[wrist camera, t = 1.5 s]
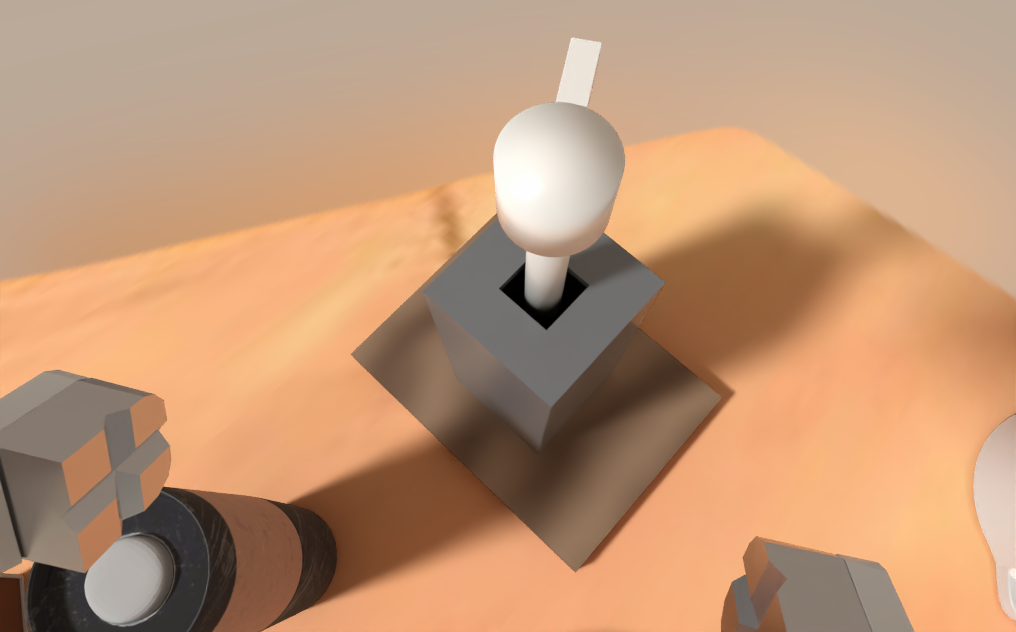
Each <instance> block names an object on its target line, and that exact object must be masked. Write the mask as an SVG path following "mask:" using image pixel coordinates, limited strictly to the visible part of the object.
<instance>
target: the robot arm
mask: <svg viewBox="0 0 1016 632" xmlns="http://www.w3.org/2000/svg"><path fill="white" fill-rule="evenodd" d="M166 421H167V416H166V410H165V404H164V400H163V399H161V398H160V397H158V396H156V395H155V394H152V393H148V392H144V391H140V390H136V389H133V388H129V387H125V386H121V385H117V384H113V383H110V382H106V381H102V380H98V379H94V378H87V377H84V376H80V375H76V374H72V373H69V372H65V371H61V370H53V371H45V372H43V373H41V374H40V375H38V376H36V377H35V378H33V379H32V380H30V381H28V382H27V383H25V384H24V385H22V386H20V387H19V388H17V389H16V390H14V391H12V392H11V393H9V394H7V395H6V396H4V397H3V398H1V399H0V574H1V573H3V572H5V571H6V570H8V569H10V568H12V567H14V566H16V565H18V564H20V563H22V559H26V560H30V561H34V562H39V563H43V564H47V565H52V566H56V567H60V568H65V569H69V570H73V571H78V572H82V573H86V572H87V570H88V569H89V568H90V567H91V566H92V565H93V564H94V563H95V562H96V561H97V560H98V559H99V558H100V557H101V556H102V555H103V554H104V553H105V552H106V551H107V550H108V549H109V548H110V547H111V546H112V544H113V543H114V542H115V541H116V540H117V539H118V538H119V537H120V536H121V535H122V520H124V519H127V518H129V517H131V516H134V515H136V514H138V513H141V512H143V511H145V510H146V509H147V508H148V507H149V505H150V504H151V503H152V502H153V501H154V500H155V499H156V498H157V497H158V496H159V494H160V492H161V490H162V488H163V486H164V484H165V482H166V480H167V478H168V476H169V470H170V464H171V452H170V445H169V444H168V442H167V441H166V440H165V438H164V437H163V436H162V434H161V433H160V432H159V429H160V428H161V426H162V425H163V424H164V423H165V422H166ZM974 501H975V507H976V511H977V515H978V519H979V522H980V525H981V528H982V531H983V533H984V535H985V538H986V540H987V542H988V544H989V547H990V549H991V551H992V554H993V556H994V559H995V563H996V574H997V588H998V596H999V601H1000V604H1001V606H1002V608H1003V610H1004V612H1005V613H1006V614H1007V615H1008V616H1009V617H1010V618H1011V619H1013V620H1014V621H1016V414H1015V415H1013V416H1011V417H1010V418H1008V419H1006V420H1005V421H1004V422H1002V423H1001V424H1000V425H999V426H998V427H996V428H995V430H994V431H993V432H992V433H991V434H990V435H989V437H988V438H987V440H986V441H985V443H984V445H983V447H982V449H981V451H980V453H979V456H978V459H977V462H976V467H975V473H974ZM743 562H744V567H745V572H746V575H744V576H742V577H740V578H738V579H736V580H734V581H733V582H732V583H731V586H730V588H729V591H728V593H727V596H726V598H725V601H724V607H723V613H722V619H721V632H914V630H913V627H912V625H911V623H910V621H909V619H908V617H907V614H906V612H905V610H904V608H903V606H902V603H901V601H900V599H899V597H898V595H897V593H896V590H895V588H894V586H893V584H892V582H891V579H890V577H889V575H888V573H887V571H886V570H885V569H884V568H883V567H882V566H881V565H880V564H879V563H877V562H872V561H868V560H863V559H858V558H854V557H849V556H844V555H840V554H836V555H834V554H832V553H827V552H823V551H819V550H814V549H810V548H806V547H801V546H797V545H792V544H788V543H784V542H779V541H775V540H771V539H766V538H762V537H758V536H756V537H755V538H754V539H753V540H752V541H751V542H750V543H749V545H748V547H747V549H746V552H745V554H744V556H743Z"/></svg>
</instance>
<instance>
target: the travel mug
mask: <svg viewBox="0 0 1016 632" xmlns="http://www.w3.org/2000/svg"><path fill="white" fill-rule="evenodd" d="M336 560H337V551H336V544H335V540H334V537H333V535H332V532H331V530H330V529H329V527H328V525H327V524H326V523H325V522H324V521H323V520H322V519H321V518H320V517H319V516H318V515H316V514H315V513H313V512H311V511H309V510H307V509H304V508H301V507H298V506H293V505H289V504H285V503H280V502H276V501H271V500H267V499H262V498H257V497H252V496H244V495H234V494H225V493H216V492H207V491H198V490H189V489H179V488H170V487H163V488H162V490H161V492H160V494H159V496H158V497H157V498H156V499H155V500H154V501H153V502H152V503H151V504H150V505H149V507H148V508H147V509H146V510H145V511H143V512H141V513H138V514H136V515H134V516H131V517H129V518H127V519H124V520H122V535H121V536H120V537H119V538H118V539H117V540H116V541H115V542H114V543H113V544H112V546H111V547H110V548H109V549H108V550H107V551H106V552H105V553H104V554H103V555H102V556H101V557H100V558H99V559H98V560H97V561H96V562H95V563H94V564H93V565H92V566H91V567H90V568H89V569H88V570H87V572H86V573H82V572H78V571H73V570H69V569H65V568H60V567H56V566H52V565H47V564H43V563H39V562H34V564H33V566H32V569H31V573H30V576H29V580H28V586H27V594H26V611H27V619H28V624H29V627H30V631H31V632H261V631H263V630H265V629H267V628H269V627H271V626H273V625H275V624H277V623H279V622H281V621H283V620H285V619H287V618H289V617H292V616H294V615H296V614H297V613H299V612H301V611H303V610H305V609H307V608H308V607H309V606H311V605H312V604H314V603H315V602H316V601H317V600H318V599H319V598H320V597H321V596H322V594H323V593H324V592H325V590H326V589H327V587H328V586H329V584H330V582H331V580H332V577H333V574H334V571H335V567H336Z"/></svg>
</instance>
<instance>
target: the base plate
mask: <svg viewBox="0 0 1016 632" xmlns="http://www.w3.org/2000/svg"><path fill="white" fill-rule="evenodd" d="M497 219H498V216H497V214H496V215H494V216H493V217H492V218H491V219H490V220H489V221H488V222H487V223H486V224H485V225H484V226H483V227H482V228H481V229H480V230H479V231H478V232H477V233H476V234H475V235H474V236H473V237H472V238H471V239H470V240H469V241H468V242H467V243H465V244H464V245H463V246H462V247H461V248H460V249H459V250H458V251H457V252H456V253H455V254H454V255H453V256H452V257H451V258H450V259H449V260H448V261H447V262H446V263H445V264H444V265H443V266H442V267H441V268H440V269H439V270H437V271H436V272H435V273H434V274H433V275H432V276H431V277H430V278H429V279H428V280H427V281H426V282H425V283H424V284H423V285H422V286H421V287H420V288H419V289H418V290H417V291H416V292H415V293H414V294H413V295H412V296H411V297H410V298H408V299H407V300H406V301H405V302H404V303H403V304H402V305H401V306H400V307H399V308H398V309H397V310H396V311H395V312H394V313H393V314H392V315H391V316H390V317H389V318H388V319H387V320H386V321H385V322H384V323H383V324H382V325H381V326H379V327H378V328H377V329H376V330H375V331H374V332H373V333H372V334H371V335H370V336H369V337H368V338H367V339H366V340H365V341H364V342H363V343H362V344H361V345H360V346H359V347H358V348H357V349H356V350H355V351H354V352H353V353H351V355H352V356H353V357H354V358H355V359H356V360H357V361H358V362H359V363H360V364H361V365H362V366H363V367H364V368H365V369H366V370H367V371H368V372H369V373H370V374H371V375H372V376H373V377H374V378H375V379H376V380H377V381H378V382H379V383H380V384H381V385H382V386H383V387H384V388H385V389H387V390H388V391H389V392H390V393H391V394H392V395H393V396H394V397H395V398H396V399H397V400H398V401H399V402H400V403H401V404H402V405H403V406H404V407H405V408H406V409H407V410H408V411H409V412H410V413H411V414H412V415H413V416H414V417H415V418H416V419H417V420H418V421H420V422H421V423H422V424H423V425H424V426H425V427H426V428H427V429H428V430H429V431H430V432H431V433H432V434H433V435H434V436H435V437H436V438H437V439H438V440H439V441H440V442H441V443H442V444H443V445H444V446H445V447H446V448H447V449H448V450H449V451H450V452H451V453H453V454H454V455H455V456H456V457H457V458H458V459H459V460H460V461H461V462H462V463H463V464H464V465H465V466H466V467H467V468H468V469H469V470H470V471H471V472H472V473H473V474H474V475H475V476H476V477H477V478H478V479H479V480H480V481H481V482H482V483H483V484H484V485H486V486H487V487H488V488H489V489H490V490H491V491H492V492H493V493H494V494H495V495H496V496H497V497H498V498H499V499H500V500H501V501H502V502H503V503H504V504H505V505H506V506H507V507H508V508H509V509H510V510H511V511H512V512H513V513H514V514H515V515H516V516H517V517H519V518H520V519H521V520H522V521H523V522H524V523H525V524H526V525H527V526H528V527H529V528H530V529H531V530H532V531H533V532H534V533H535V534H536V535H537V536H538V537H539V538H540V539H541V540H542V541H543V542H544V543H545V544H546V545H547V546H548V547H549V548H550V549H552V550H553V551H554V552H555V553H556V554H557V555H558V556H559V557H560V558H561V559H562V560H563V561H564V562H565V563H566V564H567V565H568V566H569V567H570V568H571V569H572V570H573V571H574V572H576V571H577V570H578V569H579V568H580V566H581V565H582V564H583V563H584V562H585V560H586V559H587V558H588V557H589V556H590V555H591V553H592V552H593V551H594V550H595V549H596V547H597V546H598V545H599V544H600V543H601V541H602V540H603V539H604V538H605V537H606V535H607V534H608V533H609V532H610V531H611V529H612V528H613V527H614V526H615V525H616V523H617V522H618V521H619V520H620V519H621V518H622V516H623V515H624V514H625V513H626V512H627V510H628V509H629V508H630V507H631V506H632V504H633V503H634V502H635V501H636V500H637V498H638V497H639V496H640V495H641V494H642V492H643V491H644V490H645V489H646V488H647V486H648V485H649V484H650V483H651V482H652V481H653V479H654V478H655V477H656V476H657V475H658V473H659V472H660V471H661V470H662V469H663V467H664V466H665V465H666V464H667V463H668V461H669V460H670V459H671V458H672V457H673V455H674V454H675V453H676V452H677V451H678V450H679V448H680V447H681V446H682V445H683V444H684V442H685V441H686V440H687V439H688V438H689V436H690V435H691V434H692V433H693V432H694V430H695V429H696V428H697V427H698V426H699V424H700V423H701V422H702V421H703V420H704V418H705V417H706V416H707V415H708V414H709V413H710V411H711V410H712V409H713V408H714V407H715V405H716V404H717V403H718V402H719V401H720V399H721V398H722V397H721V396H720V395H719V394H718V393H716V392H715V391H714V390H713V389H712V388H710V387H709V386H708V385H707V384H706V383H704V382H703V381H702V380H701V379H700V378H698V377H697V376H696V375H695V374H694V373H692V372H691V371H690V370H689V369H688V368H686V367H685V366H684V365H683V364H682V363H680V362H679V361H678V360H677V359H676V358H674V357H673V356H672V355H671V354H670V353H668V352H667V351H666V350H665V349H664V348H662V347H661V346H660V345H659V344H658V343H656V342H655V341H654V340H653V339H652V338H650V337H649V336H648V335H647V334H646V333H644V332H643V331H642V330H641V329H640V328H638V329H637V331H636V333H635V334H634V336H633V338H632V339H631V341H630V343H629V344H628V346H627V348H626V349H625V351H624V353H623V354H622V356H621V358H620V359H619V361H618V363H617V364H616V366H615V368H614V369H613V371H612V373H611V374H610V375H609V376H608V377H607V378H606V379H605V380H604V381H603V383H602V384H601V385H600V386H599V387H598V388H597V389H596V390H595V391H594V393H593V394H592V395H591V396H590V397H589V398H588V399H587V400H586V401H585V402H584V404H583V405H582V406H581V407H580V408H579V409H578V410H577V411H576V412H575V414H574V415H573V416H572V417H571V418H570V419H569V420H568V421H567V422H566V424H565V425H564V426H563V427H562V428H561V429H560V430H559V431H558V432H557V434H556V435H555V436H554V437H553V438H552V439H551V440H550V441H549V442H548V444H547V445H546V446H545V447H544V448H543V449H542V450H541V451H540V452H539V454H537V453H536V452H535V451H534V450H533V449H531V448H530V447H529V446H528V445H527V444H526V443H525V442H524V441H523V440H522V439H521V438H520V437H519V436H518V435H516V434H515V433H514V432H513V431H512V430H511V429H510V428H509V427H508V426H507V425H506V424H505V423H504V422H502V421H501V420H500V419H499V418H498V417H497V416H496V415H495V414H494V413H493V412H492V411H491V410H490V409H489V408H487V407H486V406H485V405H484V404H483V403H482V402H481V401H480V400H479V399H478V398H477V397H476V396H475V395H474V394H472V393H471V392H470V391H469V390H468V389H467V388H466V387H465V386H464V385H463V384H462V383H461V382H460V381H458V380H457V379H456V376H455V374H454V371H453V369H452V366H451V364H450V361H449V358H448V356H447V353H446V351H445V348H444V345H443V343H442V340H441V338H440V335H439V333H438V330H437V327H436V325H435V322H434V320H433V317H432V314H431V312H430V309H429V307H428V304H427V302H426V299H425V296H424V294H423V291H424V290H425V289H426V288H427V287H428V286H429V285H430V284H431V283H432V282H433V281H434V280H435V279H436V278H437V277H438V276H439V275H440V274H441V273H442V272H443V271H444V270H445V269H446V268H447V267H448V266H449V265H450V264H452V263H453V262H454V261H455V260H456V259H457V258H458V257H459V256H460V255H461V254H462V253H463V252H464V251H465V250H466V249H467V248H468V247H469V246H470V245H471V244H472V243H473V242H474V241H475V240H476V239H477V238H478V237H479V236H480V235H481V234H482V233H484V232H485V231H486V230H487V229H488V228H489V227H490V226H491V225H492V224H493V223H494V222H495V221H496V220H497ZM536 322H537V323H539V324H540V325H541V326H542V327H543V328H544V329H545V330H548V328H549V327H548V326H547V325H546V324H545V323H544V322H539V321H536Z"/></svg>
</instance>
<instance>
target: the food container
mask: <svg viewBox="0 0 1016 632" xmlns="http://www.w3.org/2000/svg"><path fill="white" fill-rule="evenodd" d="M0 632H28V623H27V611H26V598H25V586H24V575H20V574H4V573H1V574H0Z"/></svg>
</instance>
